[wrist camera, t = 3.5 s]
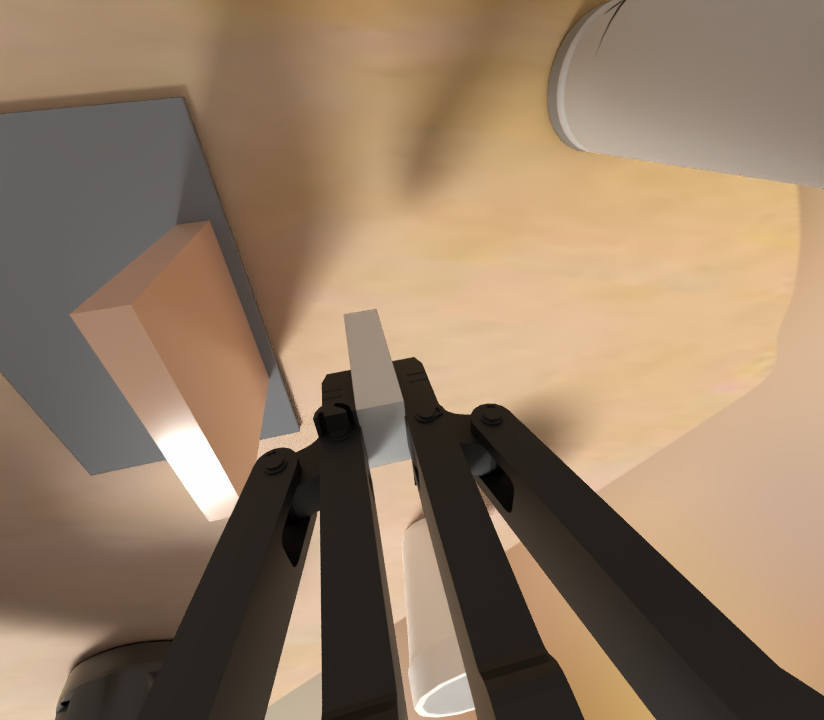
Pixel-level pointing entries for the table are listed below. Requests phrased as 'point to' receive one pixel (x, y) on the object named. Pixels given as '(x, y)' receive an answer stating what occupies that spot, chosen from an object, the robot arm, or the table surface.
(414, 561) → the foam cup
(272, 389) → the felt mat
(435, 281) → the table surface
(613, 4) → the travel mug
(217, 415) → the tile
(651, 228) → the table surface
